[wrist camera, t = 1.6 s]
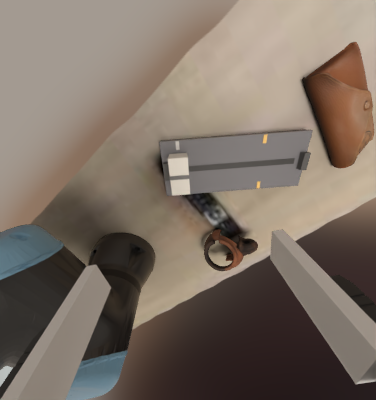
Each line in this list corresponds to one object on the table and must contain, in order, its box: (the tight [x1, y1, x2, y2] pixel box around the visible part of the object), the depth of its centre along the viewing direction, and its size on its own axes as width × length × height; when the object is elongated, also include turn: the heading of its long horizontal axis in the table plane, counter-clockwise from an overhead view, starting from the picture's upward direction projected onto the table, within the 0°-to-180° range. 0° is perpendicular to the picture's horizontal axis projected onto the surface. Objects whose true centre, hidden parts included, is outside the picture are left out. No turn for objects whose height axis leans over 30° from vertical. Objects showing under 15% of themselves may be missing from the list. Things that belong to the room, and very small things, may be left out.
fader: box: [168, 153, 190, 196], centre depth 26 cm, size 3×6×4 cm, turn 4°
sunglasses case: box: [303, 42, 374, 168], centre depth 26 cm, size 18×7×7 cm
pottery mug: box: [204, 229, 258, 271], centre depth 37 cm, size 12×10×8 cm
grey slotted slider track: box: [159, 130, 313, 196], centre depth 29 cm, size 26×10×3 cm, turn 94°
